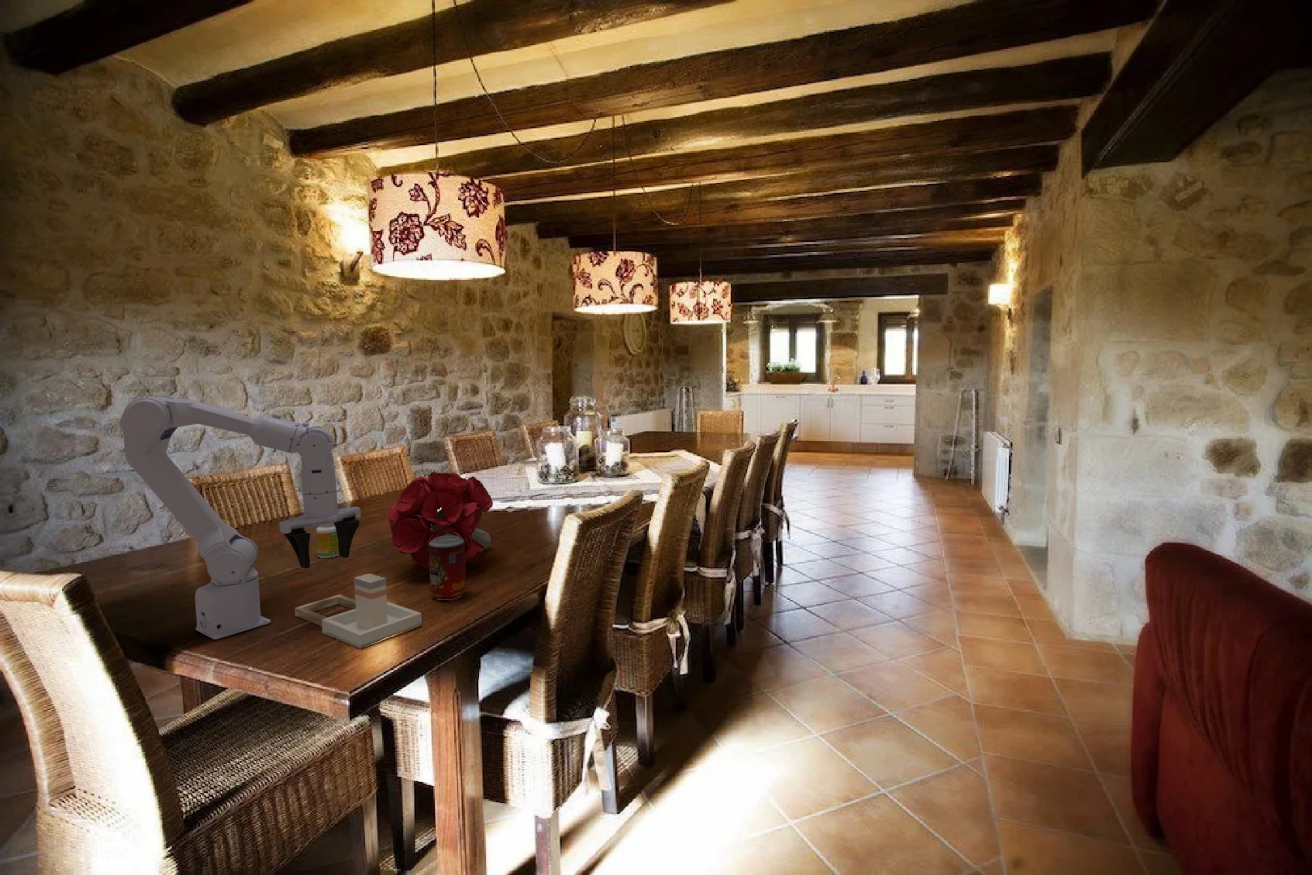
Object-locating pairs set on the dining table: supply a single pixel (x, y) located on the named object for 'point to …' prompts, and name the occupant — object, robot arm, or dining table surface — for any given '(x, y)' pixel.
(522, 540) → the dining table surface
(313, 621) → the frame
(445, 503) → the bouquet
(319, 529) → the supplement bottle
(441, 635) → the dining table surface
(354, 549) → the dining table surface
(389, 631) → the tray
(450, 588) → the soda can
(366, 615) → the block
